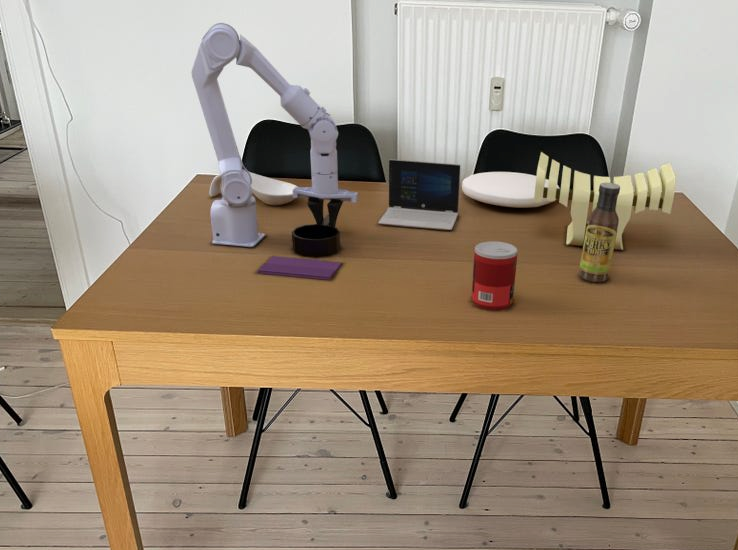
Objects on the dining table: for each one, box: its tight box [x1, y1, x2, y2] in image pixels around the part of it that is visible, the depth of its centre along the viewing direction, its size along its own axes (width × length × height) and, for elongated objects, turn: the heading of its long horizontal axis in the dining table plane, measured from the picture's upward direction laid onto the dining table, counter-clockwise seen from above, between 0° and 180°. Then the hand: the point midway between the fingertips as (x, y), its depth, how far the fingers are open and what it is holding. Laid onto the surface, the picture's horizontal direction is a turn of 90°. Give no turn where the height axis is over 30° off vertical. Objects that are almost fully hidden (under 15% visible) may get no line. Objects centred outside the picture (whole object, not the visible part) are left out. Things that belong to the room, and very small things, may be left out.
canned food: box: [471, 241, 518, 311], centre depth 137 cm, size 8×8×11 cm
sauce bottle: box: [578, 182, 620, 283], centre depth 148 cm, size 6×6×20 cm
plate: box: [461, 171, 561, 209], centre depth 198 cm, size 28×6×27 cm
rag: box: [257, 255, 343, 281], centre depth 150 cm, size 15×9×1 cm, turn 82°
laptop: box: [377, 158, 461, 231], centre depth 177 cm, size 18×12×13 cm
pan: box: [291, 214, 341, 258], centre depth 163 cm, size 17×10×4 cm, turn 172°
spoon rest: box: [208, 171, 298, 206], centre depth 187 cm, size 24×12×7 cm, turn 80°
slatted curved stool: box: [534, 151, 677, 251], centre depth 169 cm, size 30×16×18 cm, turn 80°
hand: (326, 230), depth 167 cm, fingers closed on pan, 2 cm apart
